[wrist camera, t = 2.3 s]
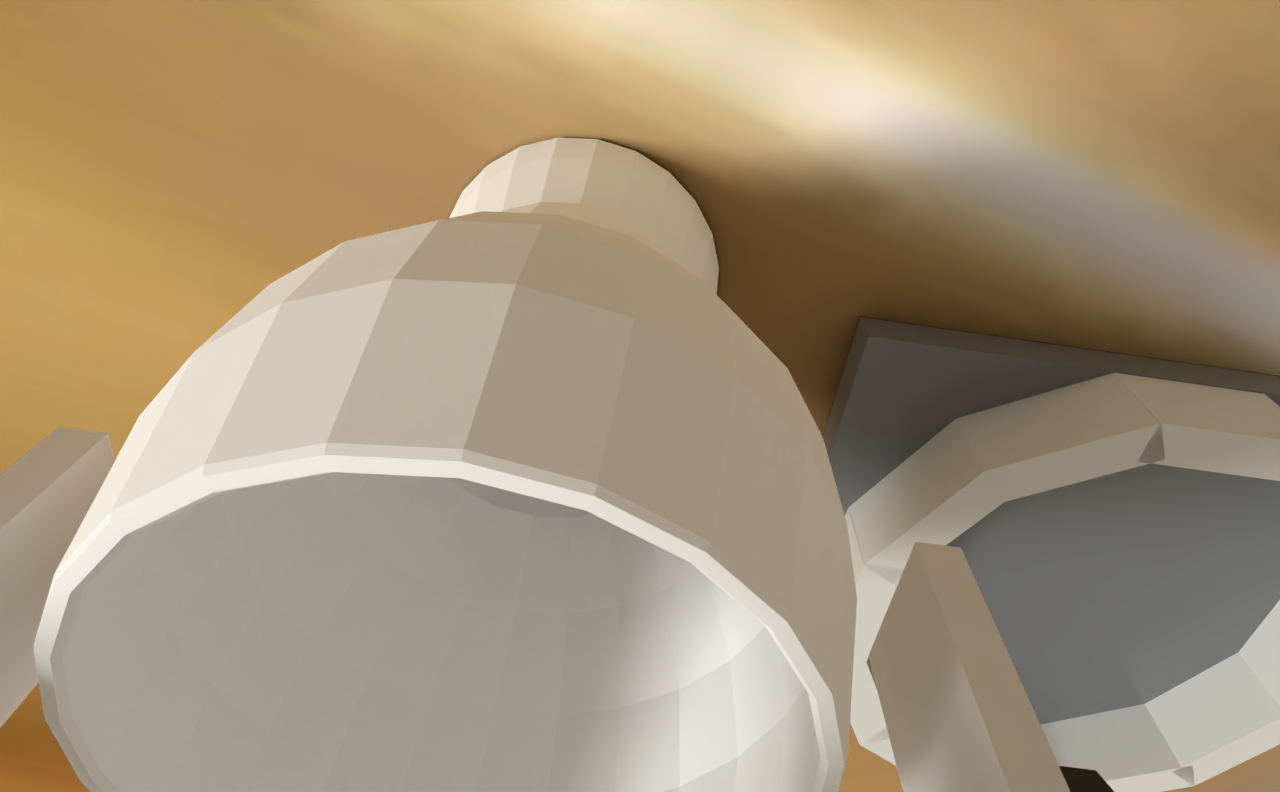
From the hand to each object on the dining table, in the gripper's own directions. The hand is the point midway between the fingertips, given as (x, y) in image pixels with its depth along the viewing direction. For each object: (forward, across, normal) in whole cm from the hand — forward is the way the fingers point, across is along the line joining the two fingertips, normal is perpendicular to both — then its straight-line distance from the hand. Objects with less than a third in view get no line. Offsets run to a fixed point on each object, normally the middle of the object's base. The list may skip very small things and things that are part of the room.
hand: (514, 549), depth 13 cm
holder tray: (+11, +17, -8) cm, 21 cm away
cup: (+11, 0, 0) cm, 11 cm away
